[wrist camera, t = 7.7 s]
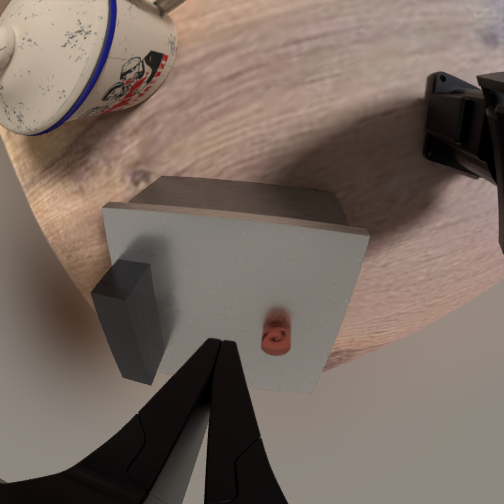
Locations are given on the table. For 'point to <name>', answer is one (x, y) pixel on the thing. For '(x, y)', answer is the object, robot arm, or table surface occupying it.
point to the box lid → (225, 290)
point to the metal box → (244, 198)
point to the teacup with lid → (81, 59)
